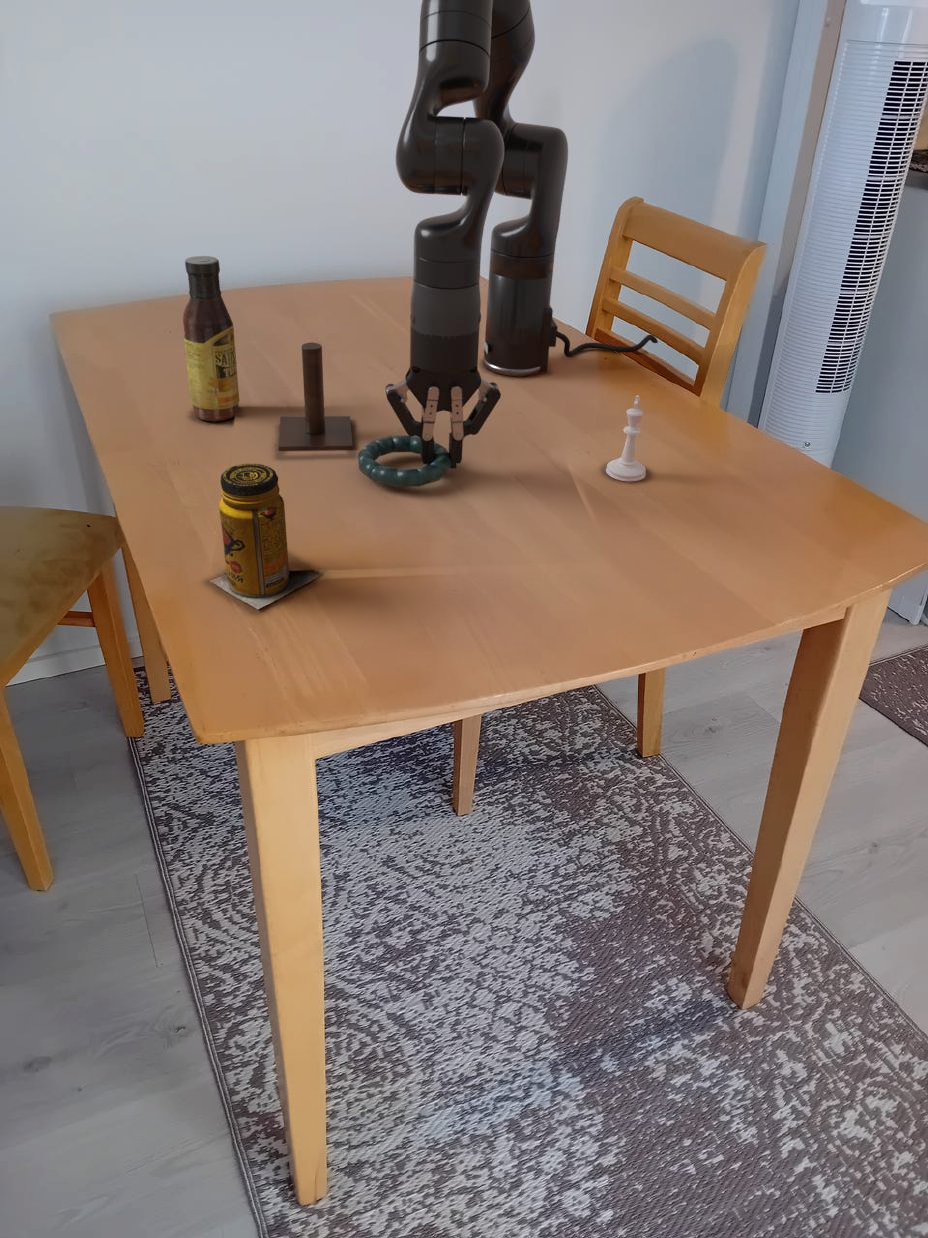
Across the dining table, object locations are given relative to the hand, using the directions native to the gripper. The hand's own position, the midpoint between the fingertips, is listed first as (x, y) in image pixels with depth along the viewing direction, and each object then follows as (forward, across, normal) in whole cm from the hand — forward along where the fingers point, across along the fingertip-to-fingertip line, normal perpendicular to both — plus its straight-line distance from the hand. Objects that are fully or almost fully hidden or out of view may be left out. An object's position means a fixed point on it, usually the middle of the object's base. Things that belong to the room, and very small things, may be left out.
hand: (440, 464), depth 116 cm
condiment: (+2, +20, +21) cm, 29 cm away
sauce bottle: (+2, +28, -20) cm, 34 cm away
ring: (-1, +4, 0) cm, 4 cm away
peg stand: (+2, +15, -11) cm, 19 cm away
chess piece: (+2, -23, -1) cm, 23 cm away
